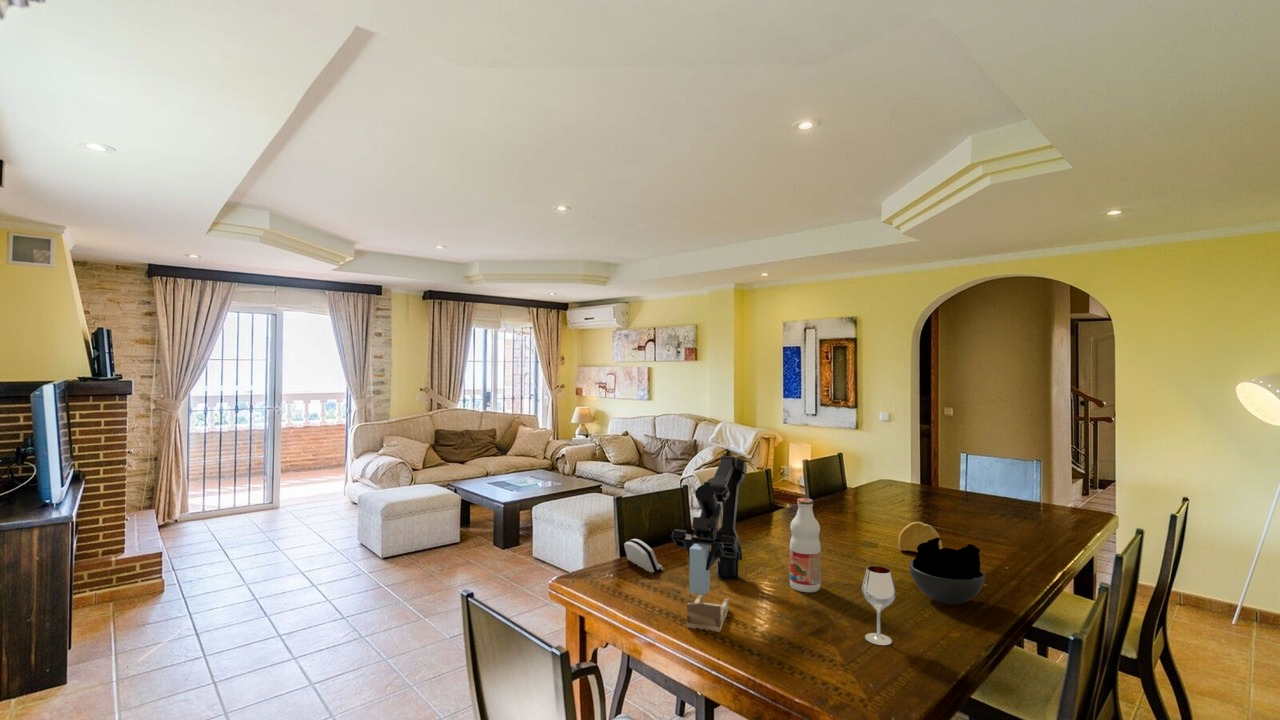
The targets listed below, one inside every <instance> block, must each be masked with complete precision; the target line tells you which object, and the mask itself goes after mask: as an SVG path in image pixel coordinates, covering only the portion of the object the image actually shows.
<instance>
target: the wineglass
mask: <svg viewBox="0 0 1280 720" xmlns="http://www.w3.org/2000/svg"><path fill="white" fill-rule="evenodd" d="M864 572H865V573H864V576H863V579H862V583H861V584H862V585H861V592H862V593H861V594H862V595H863V598H864V599H865V600H866V602H867V603H868V604H870V605H871V606H872V607H873V609H875V611H876V632H870V633H867V634H865V636H864V638H865V640H866V641H867V642H869V643H871V644H873V645H878V646H889V645H891V644H892V643H893V640H892V638H891V637H889V636H888V635H885V634H882V633H881V612H882V611H883V610H884V609H885V608H886V607H888V606H890V605H891V604H893V602H894V601H895V599H896V596H897V595H896V594H897V591H896V586H895V582H894V578H893V575H892V572H891V570H890V568H888V567H884V566H881V565H870V566H867V567H866V569H865V571H864Z"/></svg>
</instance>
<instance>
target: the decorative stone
mask: <svg viewBox="0 0 1280 720" xmlns="http://www.w3.org/2000/svg"><path fill="white" fill-rule="evenodd" d="M934 538H941V536H940V535H939V533H938V532H937V530H936V528H934V527H933V526H932V525H930V524H928V523H924V522H922V521H913V522H911V523H909V524H907V525H906V526H904V528H902V530H901V531H900V532H899V535H898V538H897V539H898V541H897V544H898V550H899V551H901V552H902V551H907V552H914V553H917V554H918V550H917V547H918V546H919V545H920V544H921V543H925V542H928V540H932V539H934ZM942 548H944V547H943V542H942V538H941V539H940V541H939V549H942Z"/></svg>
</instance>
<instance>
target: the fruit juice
mask: <svg viewBox="0 0 1280 720" xmlns="http://www.w3.org/2000/svg"><path fill="white" fill-rule="evenodd" d="M796 500H797V501H796V503H797V512H796V513H795V516H794V517H793V519H792V521H790V532H791V537H790V541H789V586H790V587H791V589H793V590H795V591H797V592H802V593H816V592H818V591H819V590H821V541H820V539H819V536H820V532H821V526H820V524H819V522H818V520H817V518H815V515H814V511H813V506H814V500H813V499H811V498H806V497H804V498H803V497H800V498H797V499H796Z"/></svg>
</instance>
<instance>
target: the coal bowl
mask: <svg viewBox="0 0 1280 720" xmlns="http://www.w3.org/2000/svg"><path fill="white" fill-rule="evenodd" d="M940 539H941V540H942V538H941V537H940V538H934V539H932V540H928V542H925V543H921V544H920V545H919V546H918V547H917V550H918V553H917V554H916V557H915V558H914V559H911V560H910V561H909V570H910V571H909V572H910V574H911V577H912V580H913V581H914V583H915V585H916V587H918V589H919V590H921V592H922V593H923V594H925V596H927V597H928V598H930V599H932V600H933V601H936V602H938V603H941V604H947V605H959V604H963V603H967V602H969V601H971V600H972V599H974V598H975V597H976V596H977V595H978V594H979V593H980V591H981V589H982V588H983V586H984V582H985V578H986V577H985V575H986V574H985V573H984V571H983V570H981V560H980V558H981V557H980V555H979V554H980V552H981V551H980V548H978V547H976V546H975V544H969V543H968V544H967V545H966V546H963V547H961V548H960V549H954V548H949V547H943V548H942V549H939V541H940Z"/></svg>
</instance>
